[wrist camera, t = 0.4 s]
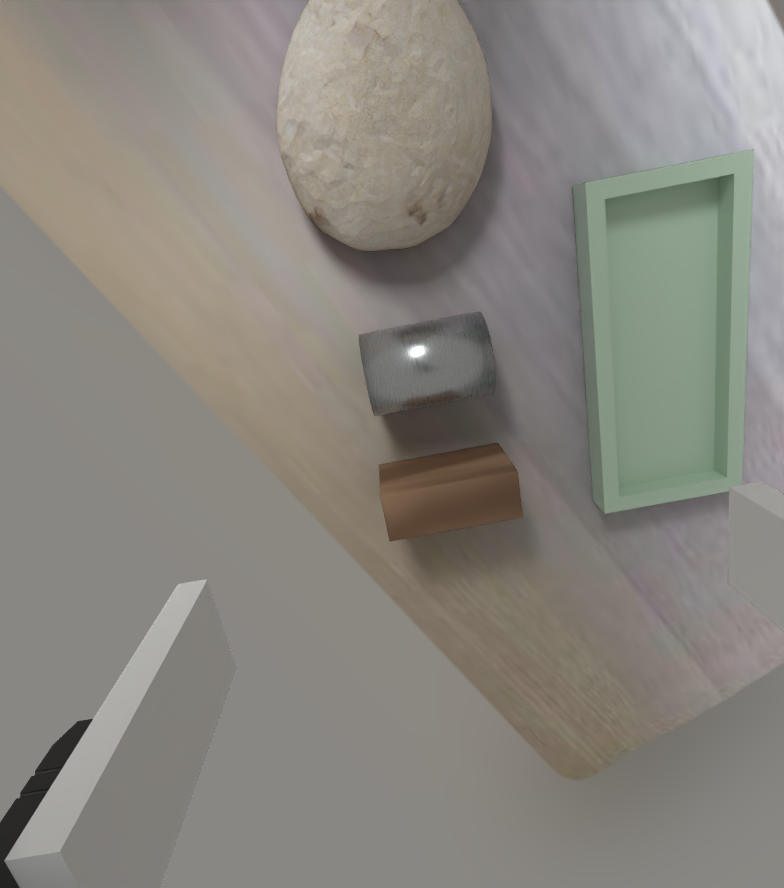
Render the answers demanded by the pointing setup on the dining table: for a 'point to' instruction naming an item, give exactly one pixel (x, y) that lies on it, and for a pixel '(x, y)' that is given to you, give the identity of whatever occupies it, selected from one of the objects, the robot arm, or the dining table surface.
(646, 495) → the tray
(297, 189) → the stone
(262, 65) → the dining table surface
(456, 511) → the block
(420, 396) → the roller
